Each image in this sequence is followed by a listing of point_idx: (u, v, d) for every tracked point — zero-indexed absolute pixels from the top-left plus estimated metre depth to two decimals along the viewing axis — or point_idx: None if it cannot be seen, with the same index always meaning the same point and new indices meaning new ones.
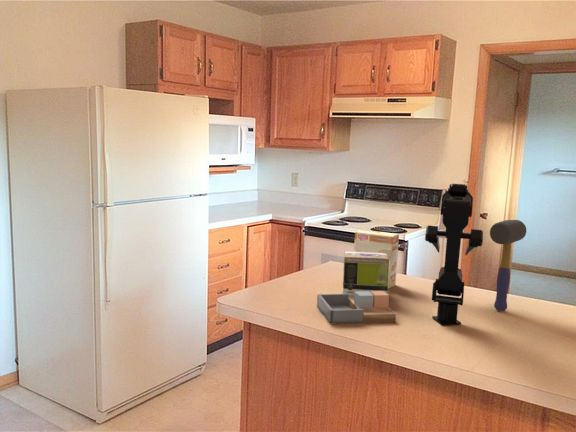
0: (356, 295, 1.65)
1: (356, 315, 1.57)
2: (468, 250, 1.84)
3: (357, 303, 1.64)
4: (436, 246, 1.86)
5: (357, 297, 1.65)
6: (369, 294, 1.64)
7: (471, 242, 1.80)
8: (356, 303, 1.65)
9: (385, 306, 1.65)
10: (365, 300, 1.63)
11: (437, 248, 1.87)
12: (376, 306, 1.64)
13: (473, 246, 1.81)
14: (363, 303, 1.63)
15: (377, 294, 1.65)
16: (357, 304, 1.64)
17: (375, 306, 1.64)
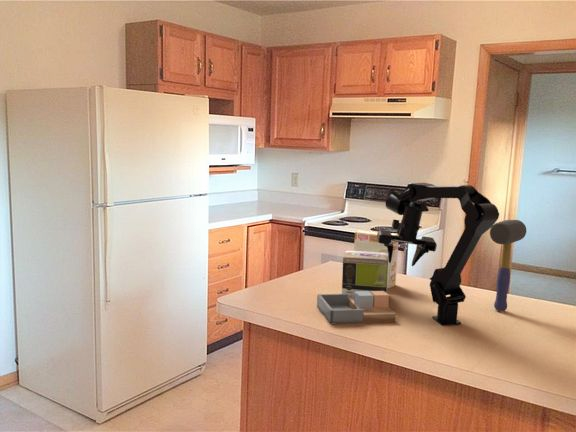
0: (356, 295, 1.65)
1: (356, 315, 1.57)
2: (417, 258, 1.74)
3: (357, 303, 1.64)
4: (390, 252, 1.74)
5: (357, 297, 1.65)
6: (369, 294, 1.64)
7: (426, 246, 1.72)
8: (356, 303, 1.65)
9: (385, 306, 1.65)
10: (365, 300, 1.63)
11: (390, 255, 1.75)
12: (376, 306, 1.64)
13: (424, 251, 1.72)
14: (363, 303, 1.63)
15: (377, 294, 1.65)
16: (357, 304, 1.64)
17: (375, 306, 1.64)
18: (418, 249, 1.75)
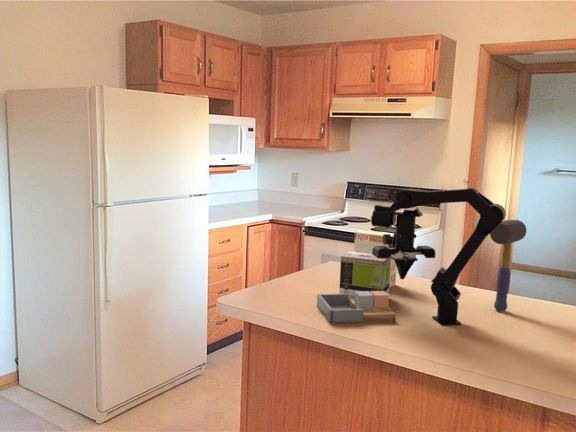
0: (356, 295, 1.65)
1: (356, 315, 1.57)
2: (407, 268, 1.64)
3: (357, 303, 1.64)
4: (402, 266, 1.64)
5: (357, 297, 1.65)
6: (369, 294, 1.64)
7: (425, 253, 1.63)
8: (356, 303, 1.65)
9: (385, 306, 1.65)
10: (365, 300, 1.63)
11: (402, 270, 1.65)
12: (376, 306, 1.64)
13: (414, 259, 1.63)
14: (363, 303, 1.63)
15: (377, 294, 1.65)
16: (357, 304, 1.64)
17: (375, 306, 1.64)
18: (406, 259, 1.65)
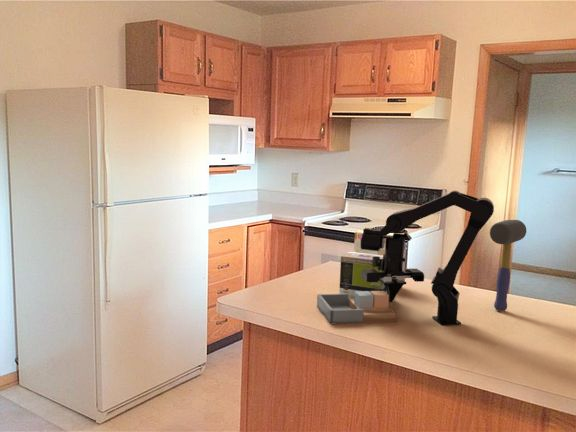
0: (356, 295, 1.65)
1: (356, 315, 1.57)
2: (396, 291, 1.65)
3: (357, 303, 1.64)
4: (391, 290, 1.64)
5: (357, 297, 1.65)
6: (369, 294, 1.64)
7: (414, 277, 1.64)
8: (356, 303, 1.65)
9: (385, 306, 1.65)
10: (365, 300, 1.63)
11: (391, 294, 1.65)
12: (376, 306, 1.64)
13: (402, 283, 1.64)
14: (363, 303, 1.63)
15: (377, 294, 1.65)
16: (357, 304, 1.64)
17: (375, 306, 1.64)
18: (395, 282, 1.66)
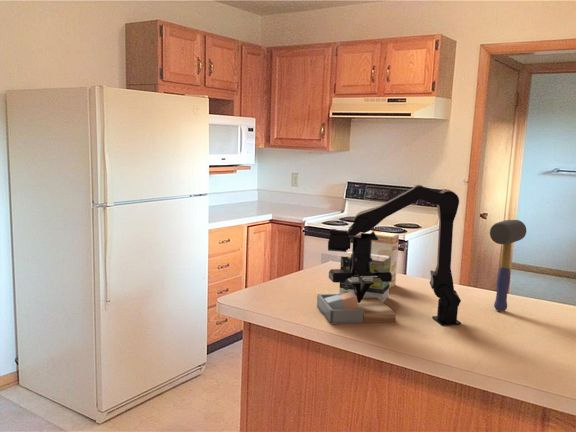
0: None
1: (356, 315, 1.57)
2: (363, 292, 1.63)
3: None
4: (358, 290, 1.62)
5: None
6: (338, 298, 1.62)
7: (381, 277, 1.62)
8: None
9: (355, 307, 1.63)
10: (335, 306, 1.61)
11: (359, 294, 1.63)
12: None
13: (369, 283, 1.62)
14: (334, 308, 1.62)
15: (344, 298, 1.63)
16: None
17: None
18: (362, 283, 1.64)
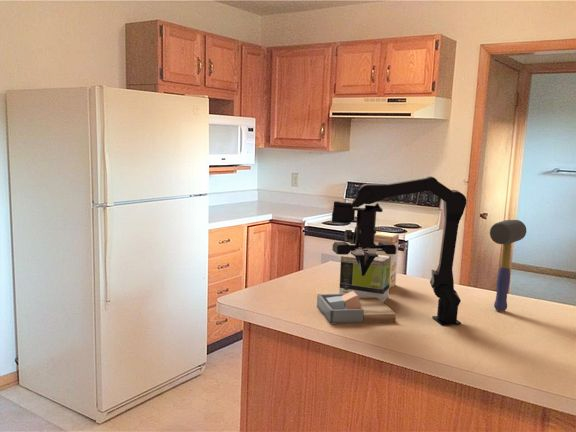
0: (327, 302, 1.64)
1: (356, 315, 1.57)
2: (368, 264, 1.62)
3: None
4: (362, 263, 1.61)
5: (328, 303, 1.63)
6: (340, 299, 1.63)
7: (386, 249, 1.61)
8: None
9: (358, 306, 1.63)
10: (336, 306, 1.62)
11: (362, 267, 1.62)
12: None
13: (374, 255, 1.61)
14: (335, 309, 1.62)
15: (346, 298, 1.63)
16: None
17: None
18: (366, 255, 1.62)
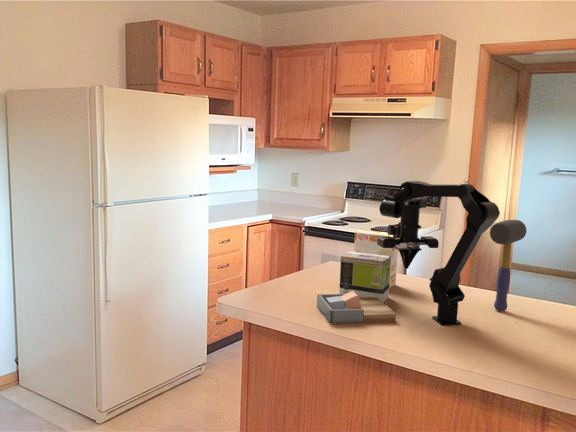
0: (327, 302, 1.64)
1: (356, 315, 1.57)
2: (411, 258, 1.70)
3: None
4: (406, 256, 1.69)
5: (328, 303, 1.63)
6: (340, 299, 1.63)
7: (429, 243, 1.69)
8: None
9: (358, 306, 1.63)
10: (336, 306, 1.62)
11: (406, 260, 1.70)
12: None
13: (418, 249, 1.68)
14: (335, 309, 1.62)
15: (346, 298, 1.63)
16: None
17: None
18: (410, 249, 1.70)
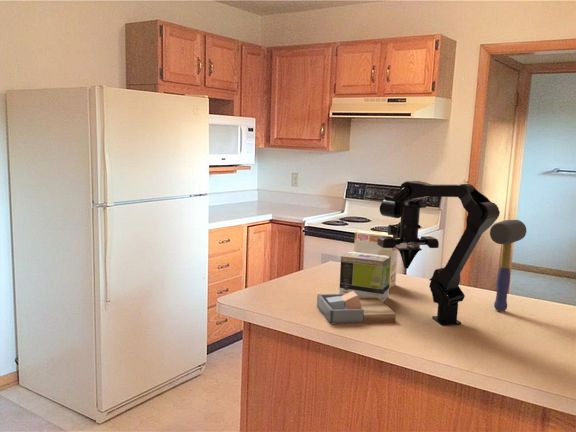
0: (327, 302, 1.64)
1: (356, 315, 1.57)
2: (411, 258, 1.70)
3: None
4: (406, 256, 1.69)
5: (328, 303, 1.63)
6: (340, 299, 1.63)
7: (429, 243, 1.69)
8: None
9: (358, 306, 1.63)
10: (336, 306, 1.62)
11: (406, 260, 1.70)
12: None
13: (418, 249, 1.68)
14: (335, 309, 1.62)
15: (346, 298, 1.63)
16: None
17: None
18: (410, 249, 1.70)
